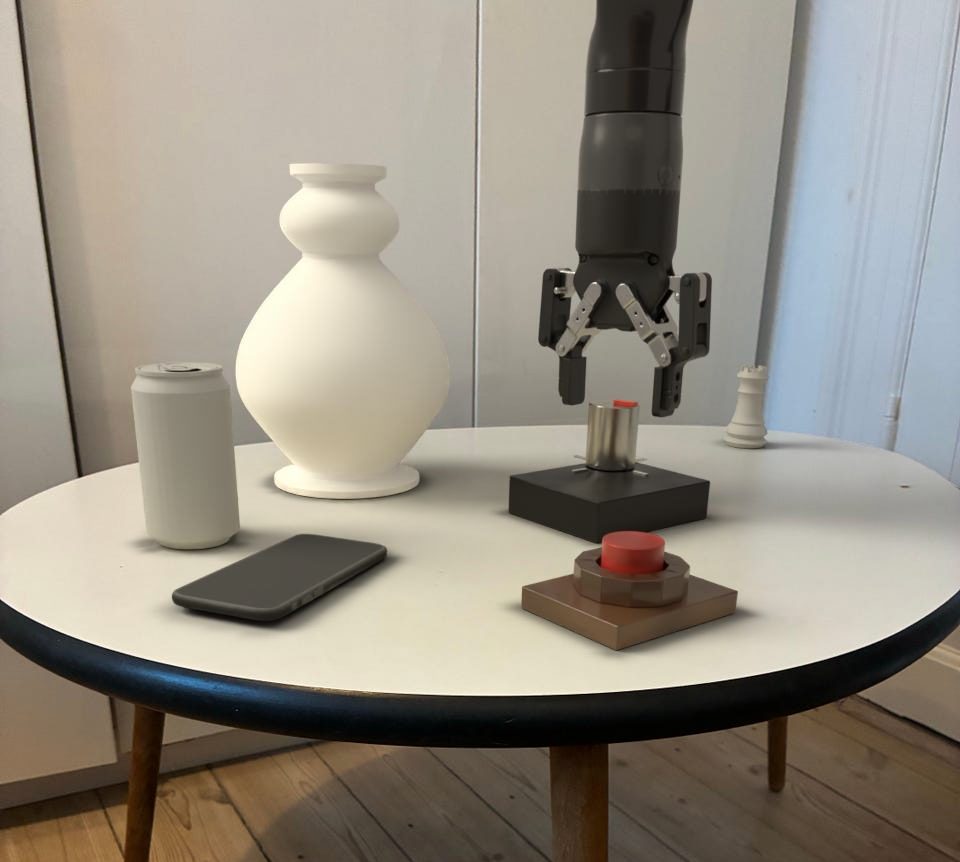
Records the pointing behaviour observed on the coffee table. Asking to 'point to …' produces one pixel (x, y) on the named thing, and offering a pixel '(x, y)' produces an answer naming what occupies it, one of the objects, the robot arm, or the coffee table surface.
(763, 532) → the coffee table surface
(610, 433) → the hob knob
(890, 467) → the coffee table surface
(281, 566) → the smartphone
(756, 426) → the rook chess piece
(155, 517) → the beverage can
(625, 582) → the button block
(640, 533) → the button
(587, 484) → the black flat square block
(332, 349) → the decorative vase
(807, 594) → the coffee table surface
